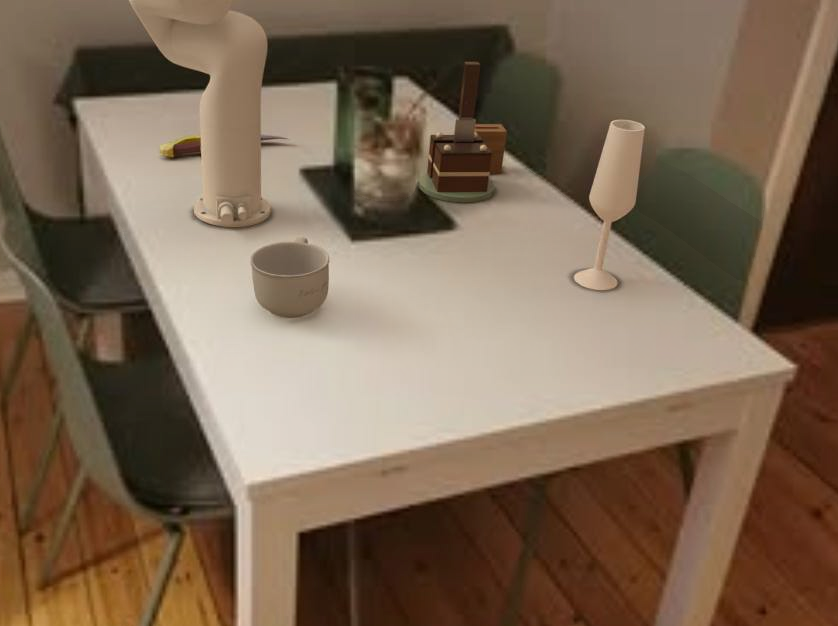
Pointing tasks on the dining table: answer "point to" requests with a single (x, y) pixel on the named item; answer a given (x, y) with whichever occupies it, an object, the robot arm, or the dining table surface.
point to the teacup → (290, 277)
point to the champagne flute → (613, 191)
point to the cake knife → (467, 104)
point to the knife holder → (493, 143)
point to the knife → (193, 145)
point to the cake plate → (429, 189)
